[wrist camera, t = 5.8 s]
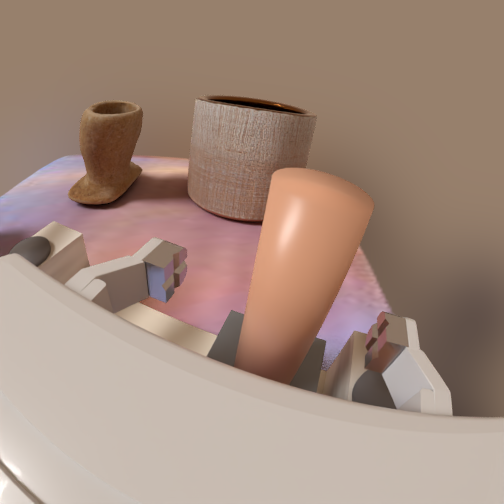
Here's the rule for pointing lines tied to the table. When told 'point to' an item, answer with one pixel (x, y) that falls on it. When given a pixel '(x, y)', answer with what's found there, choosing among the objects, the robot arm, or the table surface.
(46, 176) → the table surface
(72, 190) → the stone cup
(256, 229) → the table surface
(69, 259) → the rail track
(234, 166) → the planter
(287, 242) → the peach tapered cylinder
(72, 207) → the table surface
